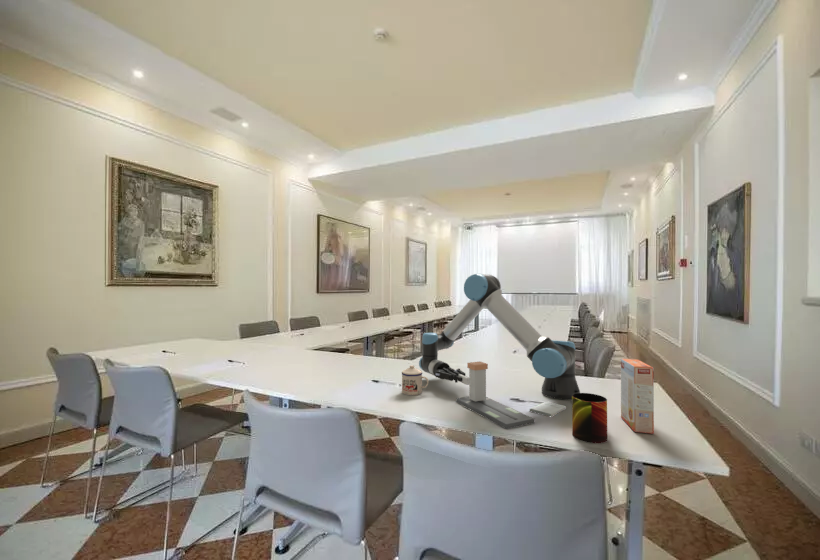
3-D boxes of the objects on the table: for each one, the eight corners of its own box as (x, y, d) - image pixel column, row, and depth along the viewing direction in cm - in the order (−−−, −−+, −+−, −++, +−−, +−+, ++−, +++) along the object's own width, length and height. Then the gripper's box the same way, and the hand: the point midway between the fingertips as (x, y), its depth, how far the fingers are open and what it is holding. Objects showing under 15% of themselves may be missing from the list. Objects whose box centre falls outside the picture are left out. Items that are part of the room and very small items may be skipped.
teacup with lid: (398, 394, 153) (398, 367, 153) (405, 388, 162) (405, 362, 162) (425, 397, 149) (425, 369, 150) (431, 391, 158) (431, 364, 158)
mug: (602, 428, 117) (601, 391, 117) (610, 445, 104) (609, 404, 104) (569, 424, 120) (569, 388, 120) (573, 440, 107) (573, 400, 107)
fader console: (456, 402, 143) (456, 397, 143) (481, 398, 148) (481, 394, 148) (506, 428, 116) (506, 423, 116) (534, 423, 121) (534, 418, 121)
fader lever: (467, 398, 141) (467, 362, 141) (480, 396, 144) (480, 361, 144) (474, 402, 137) (474, 365, 137) (487, 400, 139) (487, 363, 139)
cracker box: (655, 434, 111) (654, 367, 112) (633, 432, 113) (632, 365, 113) (639, 419, 125) (639, 358, 125) (620, 417, 126) (619, 357, 127)
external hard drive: (529, 412, 132) (545, 405, 141) (551, 418, 126) (566, 410, 135) (529, 408, 132) (545, 400, 141) (551, 413, 126) (566, 405, 135)
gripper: (451, 375, 170) (481, 388, 149) (427, 378, 165) (454, 392, 143) (451, 360, 170) (481, 370, 149) (427, 362, 165) (454, 373, 143)
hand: (468, 381), depth 146 cm, fingers closed
